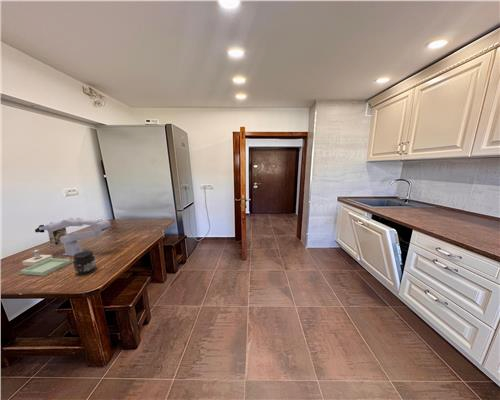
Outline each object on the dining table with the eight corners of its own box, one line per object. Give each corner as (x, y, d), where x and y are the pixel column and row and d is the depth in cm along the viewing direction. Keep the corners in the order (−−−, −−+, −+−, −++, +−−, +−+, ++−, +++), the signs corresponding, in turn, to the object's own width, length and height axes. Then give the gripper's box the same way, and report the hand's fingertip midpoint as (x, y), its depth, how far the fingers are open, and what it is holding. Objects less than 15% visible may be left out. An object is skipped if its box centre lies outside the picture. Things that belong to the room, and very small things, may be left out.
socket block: (52, 259, 134) (52, 255, 133) (35, 266, 124) (34, 262, 124) (41, 258, 135) (40, 254, 135) (23, 265, 125) (22, 261, 125)
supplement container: (74, 271, 118) (71, 253, 116) (95, 265, 125) (93, 248, 123) (75, 278, 111) (71, 259, 109) (97, 271, 118) (94, 253, 116)
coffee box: (56, 246, 156) (52, 228, 153) (50, 245, 157) (46, 227, 154) (68, 242, 164) (65, 224, 162) (63, 241, 166) (59, 224, 163)
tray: (71, 262, 129) (70, 259, 128) (43, 276, 113) (42, 272, 112) (51, 261, 131) (50, 258, 130) (21, 274, 115) (20, 270, 114)
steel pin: (44, 260, 131) (41, 249, 130) (37, 263, 127) (34, 251, 126) (39, 260, 132) (37, 248, 130) (32, 263, 128) (29, 251, 126)
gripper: (67, 220, 147) (51, 224, 148) (45, 221, 132) (28, 226, 133) (68, 228, 146) (53, 233, 147) (47, 230, 132) (30, 235, 133)
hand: (41, 230), depth 140 cm, fingers open, 7 cm apart
